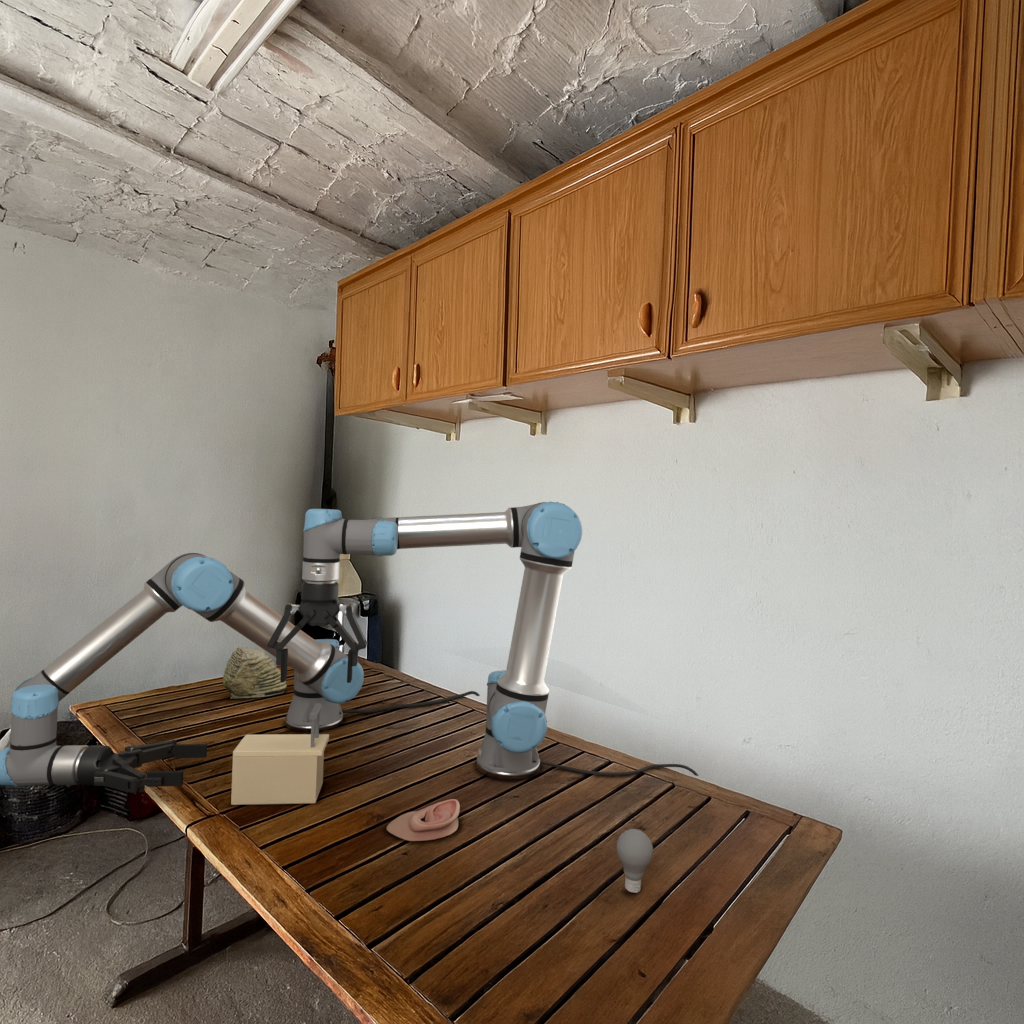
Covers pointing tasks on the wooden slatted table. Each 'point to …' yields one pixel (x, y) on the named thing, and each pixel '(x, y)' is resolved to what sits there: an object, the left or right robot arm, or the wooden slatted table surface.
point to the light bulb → (634, 857)
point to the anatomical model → (427, 822)
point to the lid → (286, 742)
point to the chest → (276, 779)
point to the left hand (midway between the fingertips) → (195, 764)
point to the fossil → (252, 674)
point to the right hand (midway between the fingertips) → (316, 681)
